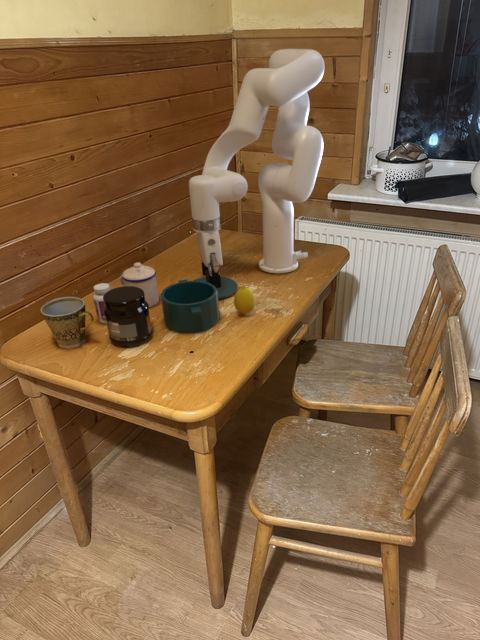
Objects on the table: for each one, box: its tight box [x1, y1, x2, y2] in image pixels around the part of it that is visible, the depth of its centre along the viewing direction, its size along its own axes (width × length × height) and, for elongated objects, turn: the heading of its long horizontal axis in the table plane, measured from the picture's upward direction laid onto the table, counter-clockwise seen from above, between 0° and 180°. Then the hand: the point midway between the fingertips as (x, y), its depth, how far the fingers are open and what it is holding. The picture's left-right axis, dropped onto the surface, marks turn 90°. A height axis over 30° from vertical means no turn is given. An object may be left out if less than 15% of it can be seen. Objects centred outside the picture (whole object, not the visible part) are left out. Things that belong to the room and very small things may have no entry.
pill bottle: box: [92, 282, 111, 325], centre depth 132 cm, size 5×5×10 cm
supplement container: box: [103, 286, 153, 348], centre depth 123 cm, size 10×10×12 cm
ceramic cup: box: [40, 296, 95, 350], centre depth 122 cm, size 13×10×10 cm
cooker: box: [160, 279, 220, 334], centre depth 131 cm, size 14×20×8 cm
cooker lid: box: [192, 269, 238, 300], centre depth 147 cm, size 15×15×6 cm
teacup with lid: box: [118, 262, 160, 308], centre depth 140 cm, size 12×9×12 cm
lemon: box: [233, 286, 256, 316], centre depth 133 cm, size 6×6×8 cm
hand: (211, 281), depth 147 cm, fingers open, 9 cm apart
